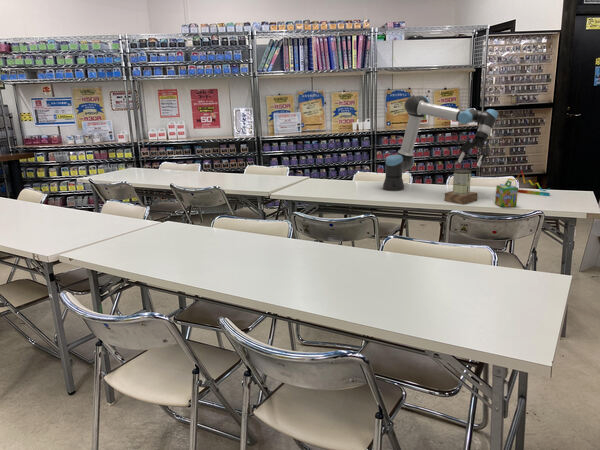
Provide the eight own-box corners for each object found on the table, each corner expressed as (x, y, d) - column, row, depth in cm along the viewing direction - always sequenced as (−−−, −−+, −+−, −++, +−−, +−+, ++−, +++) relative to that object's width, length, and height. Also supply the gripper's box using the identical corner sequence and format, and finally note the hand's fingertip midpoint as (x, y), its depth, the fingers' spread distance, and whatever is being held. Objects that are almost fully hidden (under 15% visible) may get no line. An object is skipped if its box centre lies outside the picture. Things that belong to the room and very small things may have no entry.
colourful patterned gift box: (494, 204, 283) (496, 179, 279) (508, 203, 284) (511, 179, 279) (501, 207, 274) (504, 182, 270) (516, 206, 275) (519, 182, 271)
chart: (549, 195, 300) (552, 172, 295) (548, 196, 297) (550, 173, 293) (501, 190, 319) (503, 168, 315) (499, 190, 317) (501, 169, 313)
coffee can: (450, 191, 297) (452, 169, 293) (467, 191, 296) (468, 169, 292) (454, 194, 287) (455, 172, 283) (471, 194, 286) (473, 171, 282)
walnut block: (444, 200, 294) (445, 193, 293) (457, 197, 302) (458, 189, 301) (464, 204, 284) (464, 196, 282) (477, 200, 292) (477, 192, 290)
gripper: (503, 138, 287) (488, 170, 287) (468, 133, 305) (454, 162, 305) (498, 133, 282) (483, 165, 282) (463, 128, 300) (449, 157, 300)
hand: (468, 163), depth 294 cm, fingers open, 13 cm apart
